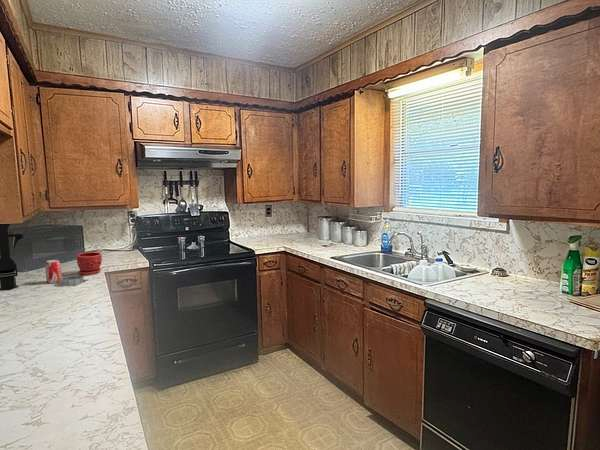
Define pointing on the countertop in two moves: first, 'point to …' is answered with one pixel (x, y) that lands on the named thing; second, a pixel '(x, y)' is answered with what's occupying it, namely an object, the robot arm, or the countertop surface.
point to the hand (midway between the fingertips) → (3, 249)
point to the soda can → (53, 271)
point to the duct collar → (71, 280)
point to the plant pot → (89, 263)
